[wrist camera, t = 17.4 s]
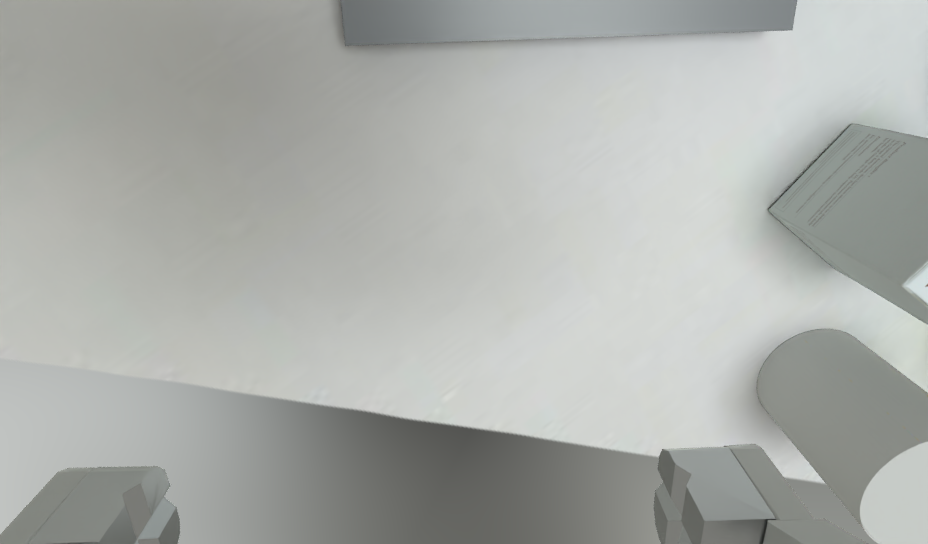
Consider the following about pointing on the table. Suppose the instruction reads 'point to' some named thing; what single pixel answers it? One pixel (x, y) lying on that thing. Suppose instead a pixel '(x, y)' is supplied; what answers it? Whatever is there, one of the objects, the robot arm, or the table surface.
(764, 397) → the cup
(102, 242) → the table surface
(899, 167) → the supplement box
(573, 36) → the power strip
